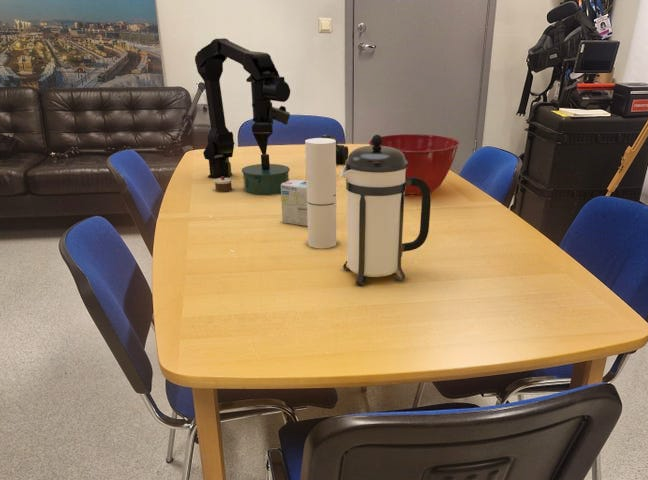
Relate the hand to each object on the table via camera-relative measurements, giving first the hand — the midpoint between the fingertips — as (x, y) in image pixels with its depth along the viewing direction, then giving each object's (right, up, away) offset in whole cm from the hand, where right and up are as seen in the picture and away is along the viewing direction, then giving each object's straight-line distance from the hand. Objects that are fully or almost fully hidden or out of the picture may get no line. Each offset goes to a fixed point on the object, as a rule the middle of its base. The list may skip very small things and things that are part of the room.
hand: (264, 151), depth 200 cm
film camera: (+20, +9, +40) cm, 46 cm away
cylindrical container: (+20, -37, -41) cm, 59 cm away
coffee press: (+34, -47, -58) cm, 82 cm away
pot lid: (0, -5, +3) cm, 6 cm away
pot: (0, -10, +6) cm, 12 cm away
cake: (-14, -11, +4) cm, 18 cm away
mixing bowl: (+47, -11, +5) cm, 49 cm away
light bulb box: (+15, -28, -25) cm, 41 cm away
